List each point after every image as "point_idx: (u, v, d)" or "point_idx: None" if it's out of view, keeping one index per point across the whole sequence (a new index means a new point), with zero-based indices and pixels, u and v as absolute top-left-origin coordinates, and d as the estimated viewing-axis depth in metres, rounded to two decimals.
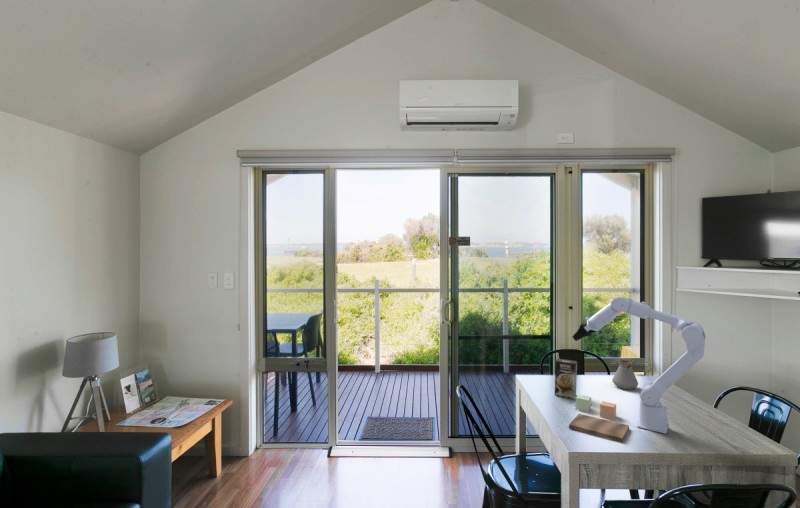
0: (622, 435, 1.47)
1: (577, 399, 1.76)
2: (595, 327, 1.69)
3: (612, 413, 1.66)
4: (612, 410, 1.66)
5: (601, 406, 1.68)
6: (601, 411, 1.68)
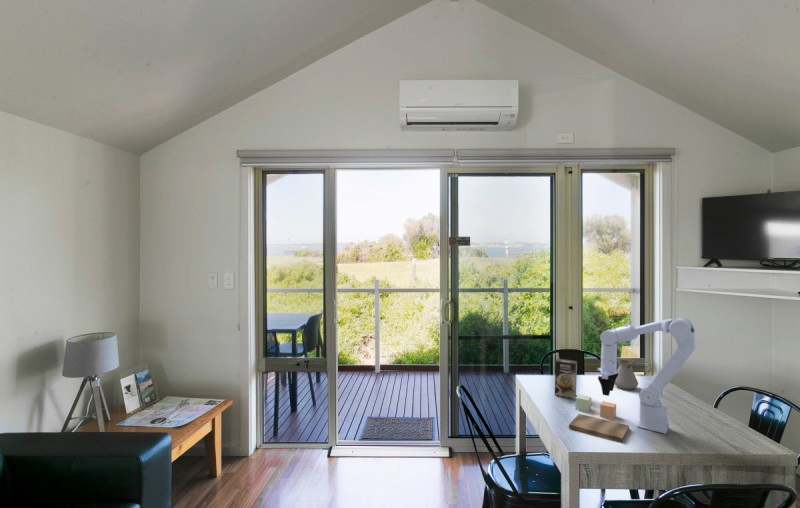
0: (622, 435, 1.47)
1: (577, 399, 1.76)
2: (611, 371, 1.66)
3: (612, 413, 1.66)
4: (612, 410, 1.66)
5: (601, 406, 1.68)
6: (601, 411, 1.68)
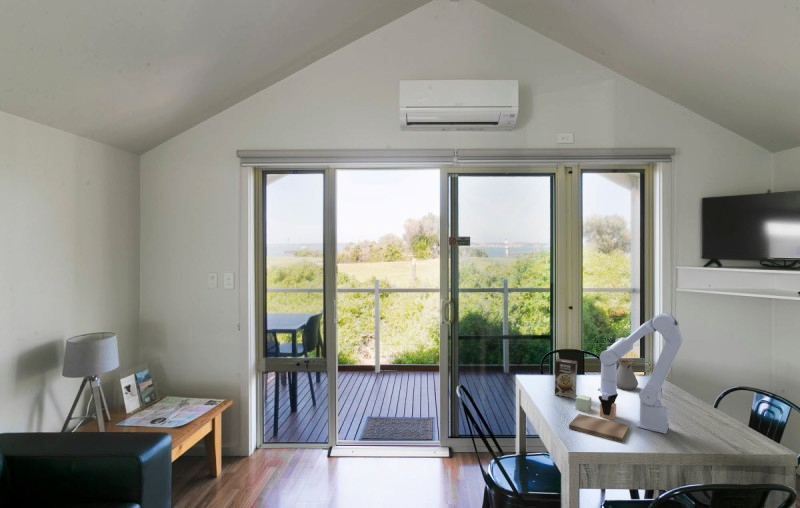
0: (622, 435, 1.47)
1: (577, 399, 1.76)
2: (611, 391, 1.66)
3: (612, 413, 1.66)
4: (612, 410, 1.66)
5: (601, 406, 1.68)
6: (601, 411, 1.68)
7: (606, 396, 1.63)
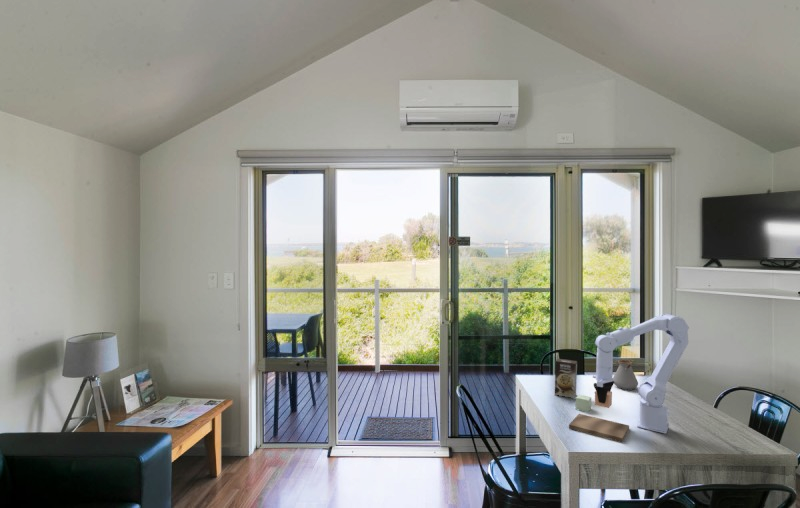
0: (622, 435, 1.47)
1: (577, 399, 1.76)
2: (606, 378, 1.60)
3: (607, 401, 1.59)
4: (607, 398, 1.59)
5: (596, 394, 1.62)
6: (596, 399, 1.62)
7: (601, 383, 1.56)
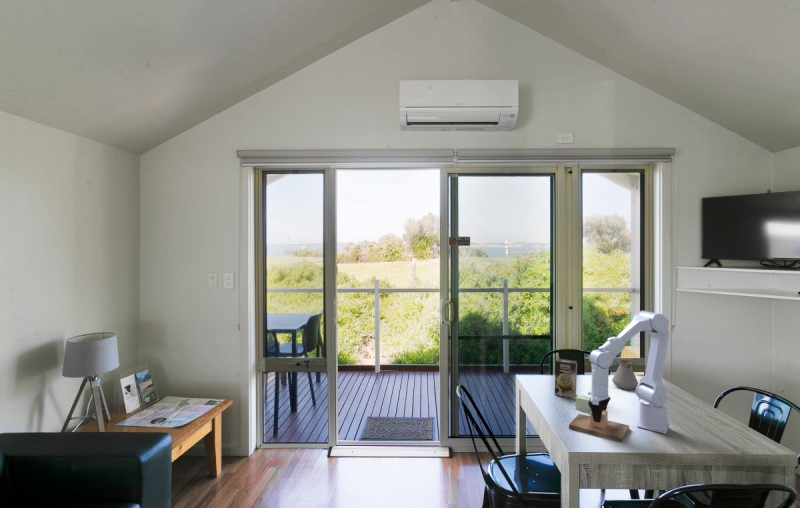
0: (622, 435, 1.47)
1: (577, 399, 1.76)
2: (602, 395, 1.53)
3: (603, 421, 1.53)
4: (603, 418, 1.53)
5: (591, 414, 1.56)
6: (591, 419, 1.55)
7: (597, 401, 1.50)
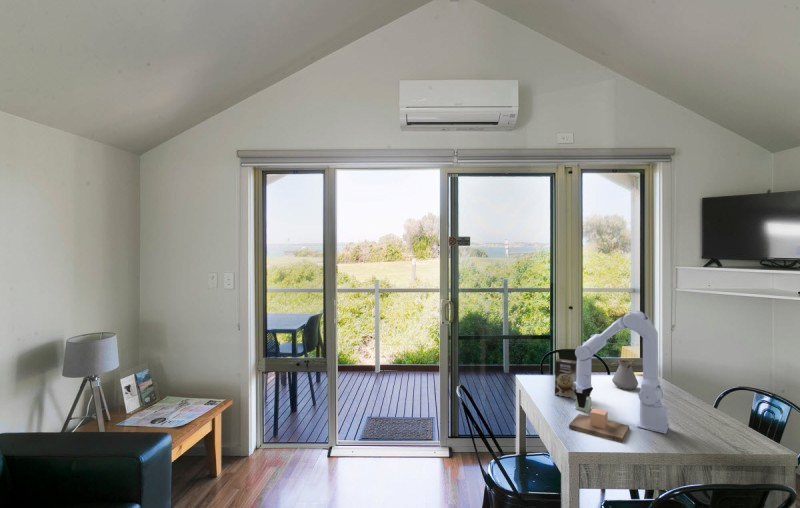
0: (622, 435, 1.47)
1: None
2: (585, 385, 1.74)
3: (603, 421, 1.53)
4: (603, 418, 1.53)
5: (591, 414, 1.56)
6: (591, 419, 1.55)
7: (580, 389, 1.70)
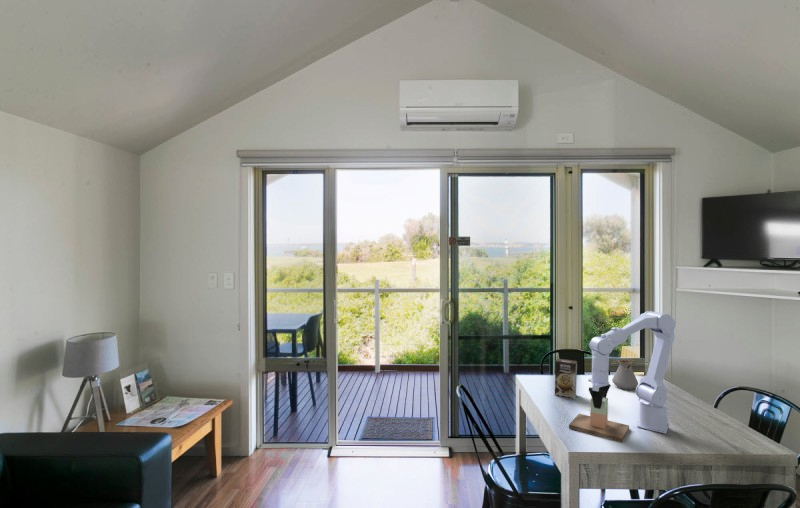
0: (622, 435, 1.47)
1: (592, 400, 1.55)
2: (602, 382, 1.53)
3: (603, 421, 1.53)
4: (603, 418, 1.53)
5: (591, 414, 1.56)
6: (591, 419, 1.55)
7: (597, 387, 1.50)
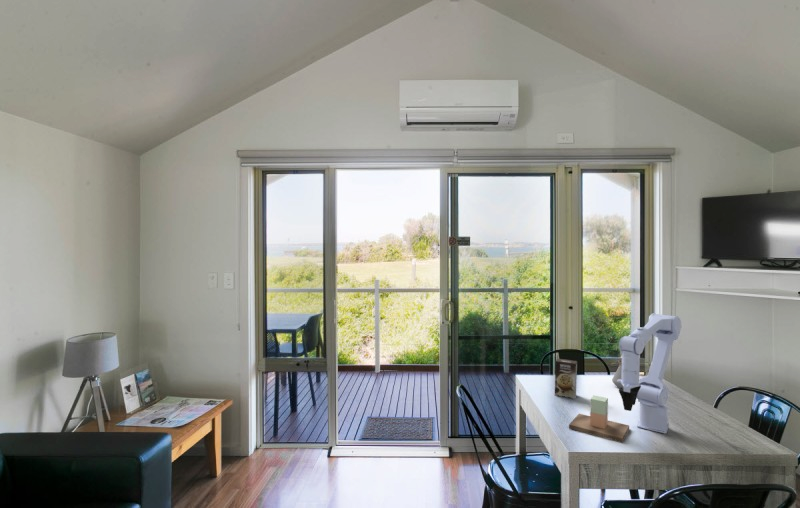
0: (622, 435, 1.47)
1: (592, 400, 1.55)
2: (633, 383, 1.48)
3: (603, 421, 1.53)
4: (603, 418, 1.53)
5: (591, 414, 1.56)
6: (591, 419, 1.55)
7: (628, 388, 1.45)
